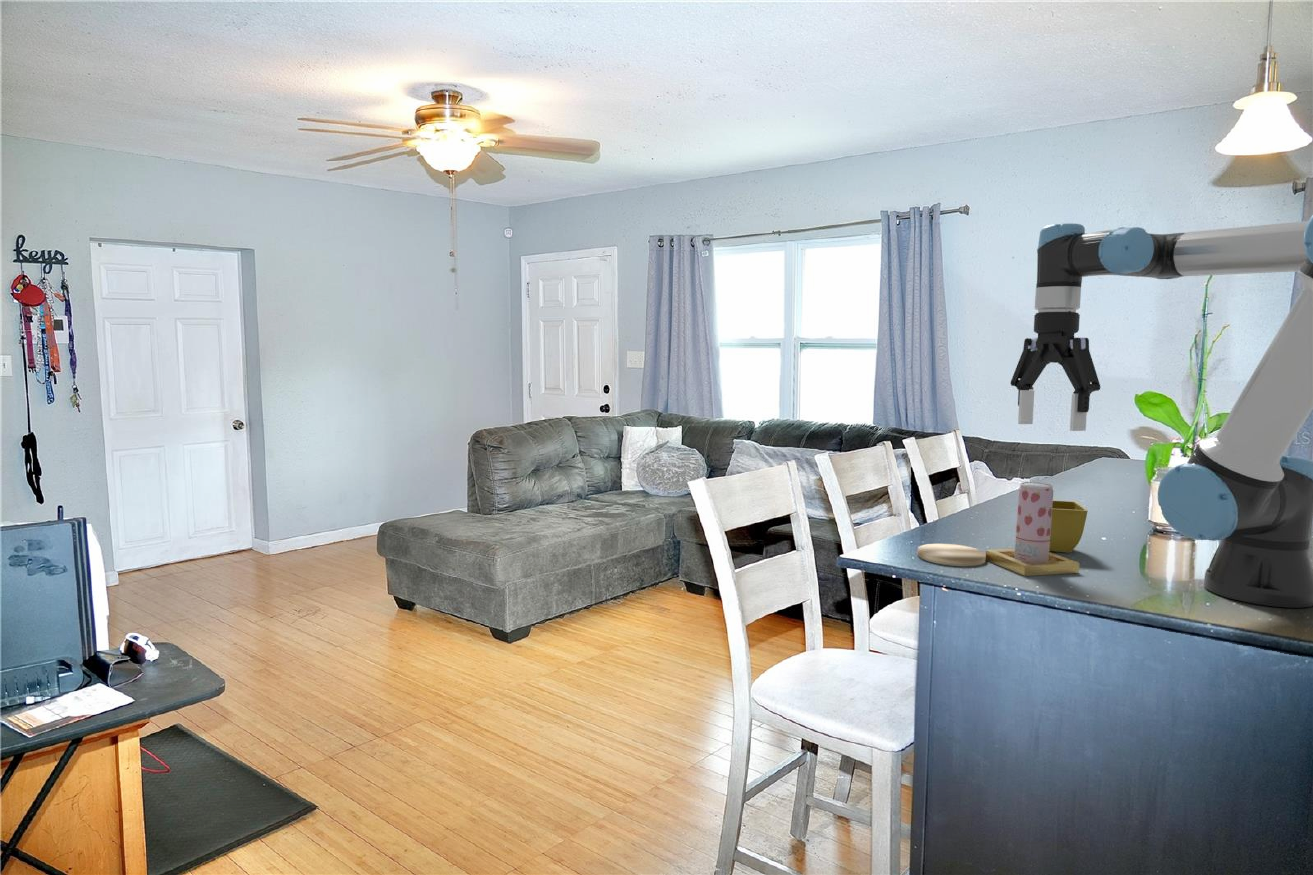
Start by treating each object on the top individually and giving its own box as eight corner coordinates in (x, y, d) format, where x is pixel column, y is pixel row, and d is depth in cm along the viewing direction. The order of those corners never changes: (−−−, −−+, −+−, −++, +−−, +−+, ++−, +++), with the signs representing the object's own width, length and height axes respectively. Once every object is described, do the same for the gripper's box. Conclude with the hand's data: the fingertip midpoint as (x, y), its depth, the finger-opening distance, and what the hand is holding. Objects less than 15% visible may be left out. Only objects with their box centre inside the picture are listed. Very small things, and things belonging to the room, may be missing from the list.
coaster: (999, 564, 154) (999, 558, 154) (940, 567, 151) (940, 561, 151) (960, 548, 166) (961, 542, 166) (905, 551, 163) (905, 544, 163)
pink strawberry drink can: (1008, 565, 154) (1013, 483, 152) (1021, 560, 158) (1026, 480, 156) (1040, 572, 150) (1046, 488, 148) (1053, 566, 154) (1059, 484, 152)
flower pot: (1085, 556, 161) (1088, 510, 160) (1035, 553, 163) (1039, 507, 162) (1072, 545, 170) (1075, 501, 169) (1025, 543, 171) (1028, 499, 170)
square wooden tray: (1078, 572, 150) (1079, 562, 149) (1024, 576, 147) (1024, 565, 147) (1036, 557, 160) (1037, 547, 160) (985, 559, 158) (985, 550, 157)
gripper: (1128, 309, 145) (1120, 433, 147) (1027, 314, 169) (1021, 421, 171) (1091, 308, 143) (1084, 434, 145) (995, 313, 167) (989, 421, 169)
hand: (1050, 427), depth 158 cm, fingers open, 13 cm apart
